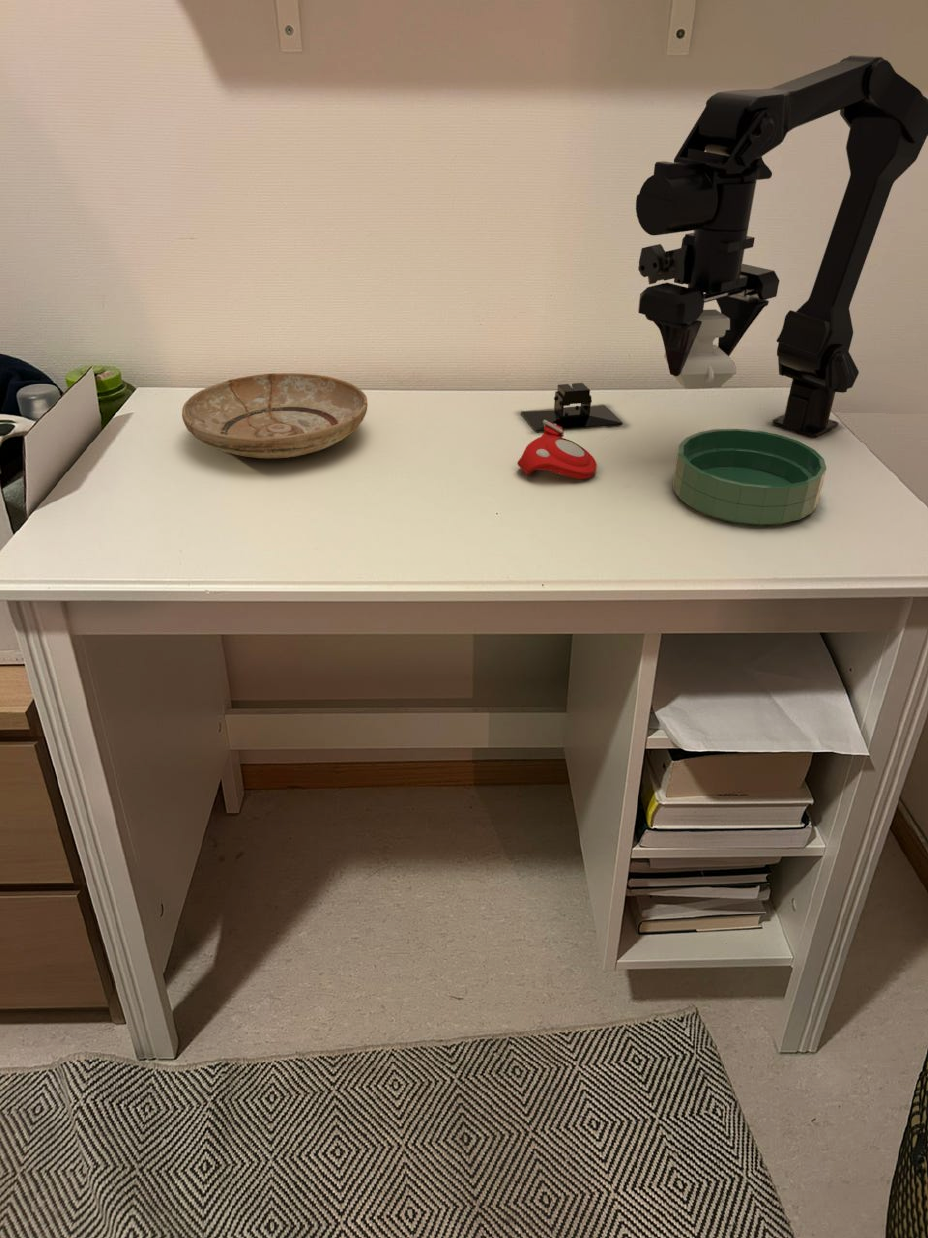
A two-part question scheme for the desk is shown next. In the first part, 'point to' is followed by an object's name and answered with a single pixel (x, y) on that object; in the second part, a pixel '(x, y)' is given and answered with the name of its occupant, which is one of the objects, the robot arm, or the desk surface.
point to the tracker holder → (557, 455)
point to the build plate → (572, 411)
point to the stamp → (707, 355)
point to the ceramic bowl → (275, 414)
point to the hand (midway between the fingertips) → (699, 366)
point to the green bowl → (748, 476)
